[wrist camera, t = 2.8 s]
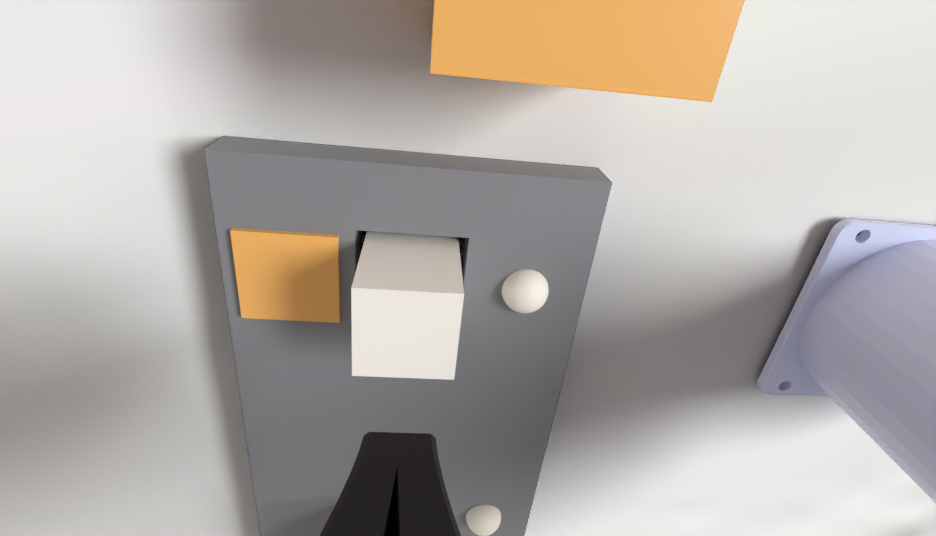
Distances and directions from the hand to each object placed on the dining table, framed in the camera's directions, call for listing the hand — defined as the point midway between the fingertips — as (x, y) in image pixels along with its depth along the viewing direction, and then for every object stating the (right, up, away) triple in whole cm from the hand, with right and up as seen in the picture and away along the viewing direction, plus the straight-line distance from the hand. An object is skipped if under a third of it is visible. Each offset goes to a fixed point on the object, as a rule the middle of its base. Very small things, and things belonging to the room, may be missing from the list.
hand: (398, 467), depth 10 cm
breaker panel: (-1, -1, +11) cm, 11 cm away
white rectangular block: (-1, +4, +8) cm, 9 cm away
